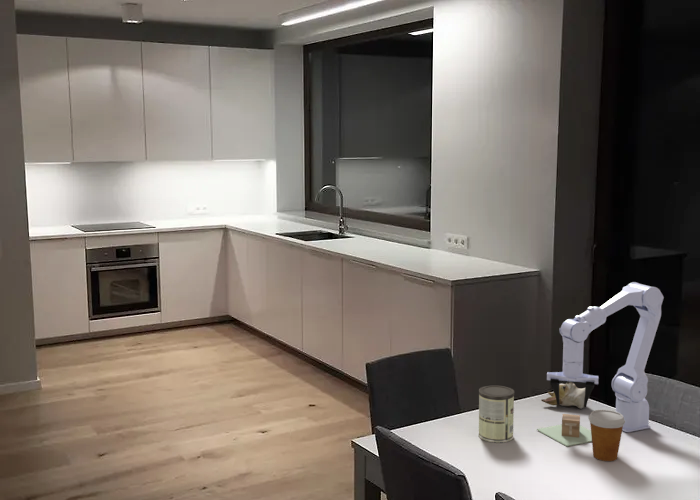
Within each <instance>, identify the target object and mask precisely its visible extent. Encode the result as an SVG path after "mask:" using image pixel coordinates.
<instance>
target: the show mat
mask: <svg viewBox="0 0 700 500" xmlns="http://www.w3.org/2000/svg"><path fill="white" fill-rule="evenodd" d="M537 430H538V432H539V431H540V432H539V433H541V434H543V435H545V436H546V437H548V438H550V439H553V440H554V441H555V442H557V443H559V444H561V445H562V446H565V447H571V446H572V447H573V446H577V445H583V444H589V443H592V436H591V429H589V428H586V427H585V426H582V425H581V424H580V432H579V438H578V437H569V436H562V423H561V424H557V425H551V426H546V427H541V428H536V431H537Z"/></svg>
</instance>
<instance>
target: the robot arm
mask: <svg viewBox="0 0 700 500" xmlns="http://www.w3.org/2000/svg"><path fill="white" fill-rule="evenodd" d="M664 298H665V297H664V295H663V293H662V292H661V289H660V288H658V287H656V286H650V285H646V284H642V283H639V282H636V281H632V282H630V283H628V284H627V285H626V286H623V287H622V290H621V291H620V292H618V293H617V294H615V295H614V296H613V297H612V298H609V300H607V301H606V302H605V303H603V304H602V305H601V306H588V307H587V309H586V310H585V311H584V312H582V313H580V314H579V315H578V314H577V315H575V316H574V318H568V319H566V320H565V321H563V322H562V324H561V326H560V327H559V330H558V331H559V334H560V335H561V336H562V343H563V345H562V346H563V347H562V348H563V349H562V371H559V372H558V371H552V372H550V371H547V373H546V381H550V385H551V388H552V391H553V392H554V393H555V397H556V401H557V405H556V406H560V405H559V403H560V397H559V384H561V383H560V381H561V382H562V381H563V382H567V381H570V382H572V383H574V382H577V383H585V385H584V388H585V398H584V408H587V405H588V400H589V399H590V395H591V394H592V392H593V390H594V389H595V385H599V375H593V374H587V373H583V372H584V347H585V343H584V342H585V340H587V339H588V337H589V334H591V332H592V331H593V330H595V329H598V328H599V327H600V326H601V325H604V324H606V321H607V317H609V316H611V315H613V314H614V313H616V312H618V311H620V310H622V309H623V308H625V307H627V306H633V307H634V308H635V309H636V311H637V312H638V314H639V320H638V323H637V327H636V329H635V333H634V336H633V338H632V339H633V340H632V343H631V346H630V349H629V352H628V355H627V358H626V362H625V364H624V365H622V366H621V367H619V368H618V369H617V371H616V374H615V375H614V377H613V378H612V380H611V388H612V391H613V392H614V395H615V412H618V413H620V414H622V415H623V417H624V420H625V423H624V425H623V428H622V432H625V433H631V432H637V431H642V430H647V429H651V426H650V425H649V423H650V421H649V420H650V405H649V402H648V400H647V399H646V397H647V394H648V383H649V378H648V376H647V374H646V372H645V369H646V365H647V361H648V360H649V359H648V358H649V355H650V352H651V349H652V347H653V343H654V340H655V337H656V332H657V330H658V327H659V324H660V321H661V317H662V305H663V301H664ZM588 398H589V399H588Z"/></svg>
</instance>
